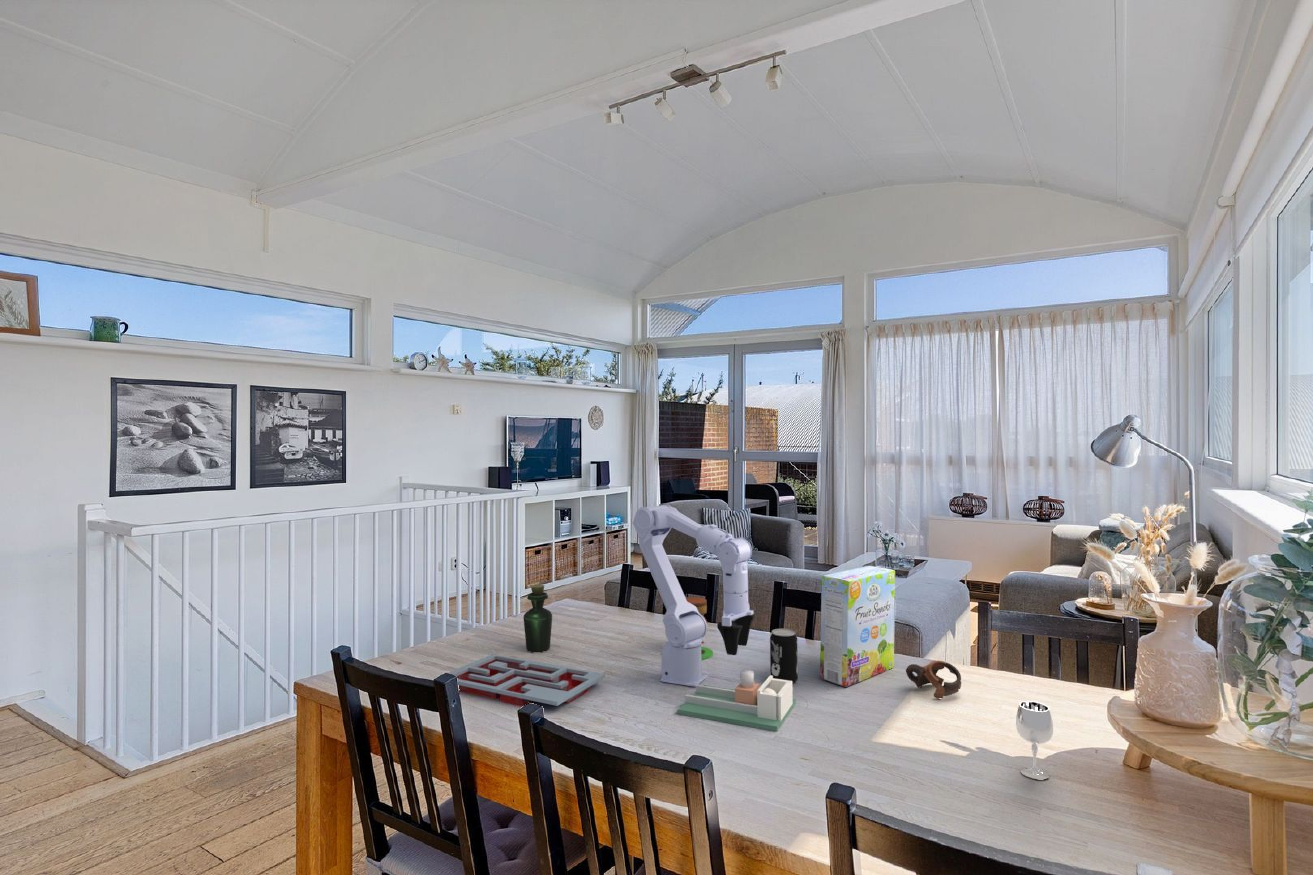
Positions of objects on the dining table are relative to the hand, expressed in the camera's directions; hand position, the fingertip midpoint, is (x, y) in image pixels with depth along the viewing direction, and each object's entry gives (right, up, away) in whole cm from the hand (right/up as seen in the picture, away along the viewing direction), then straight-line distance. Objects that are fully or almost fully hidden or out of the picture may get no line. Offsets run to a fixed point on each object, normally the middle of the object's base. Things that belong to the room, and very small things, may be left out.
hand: (737, 649), depth 160 cm
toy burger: (-8, -11, +30) cm, 33 cm away
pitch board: (-1, -10, -8) cm, 13 cm away
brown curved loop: (+46, -10, +1) cm, 47 cm away
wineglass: (+48, -10, -39) cm, 62 cm away
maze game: (-51, -12, +6) cm, 53 cm away
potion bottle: (-52, -11, +35) cm, 64 cm away
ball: (+5, -7, -11) cm, 14 cm away
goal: (+7, -10, -12) cm, 17 cm away
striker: (+1, -9, -9) cm, 13 cm away
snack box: (+32, -10, +13) cm, 36 cm away
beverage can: (+13, -11, +9) cm, 19 cm away
